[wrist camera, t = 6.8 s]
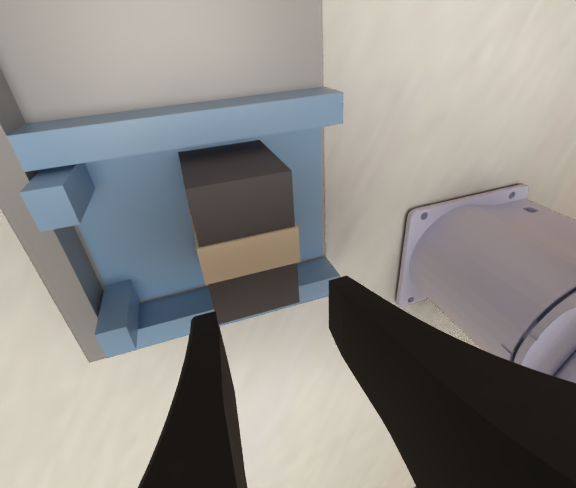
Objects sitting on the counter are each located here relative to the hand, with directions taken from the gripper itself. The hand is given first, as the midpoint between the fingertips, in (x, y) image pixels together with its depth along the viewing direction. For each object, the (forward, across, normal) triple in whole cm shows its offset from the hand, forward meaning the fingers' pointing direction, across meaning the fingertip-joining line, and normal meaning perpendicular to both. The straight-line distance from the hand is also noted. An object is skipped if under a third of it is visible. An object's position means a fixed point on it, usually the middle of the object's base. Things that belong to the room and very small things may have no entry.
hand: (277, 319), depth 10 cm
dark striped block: (+8, 0, 0) cm, 8 cm away
